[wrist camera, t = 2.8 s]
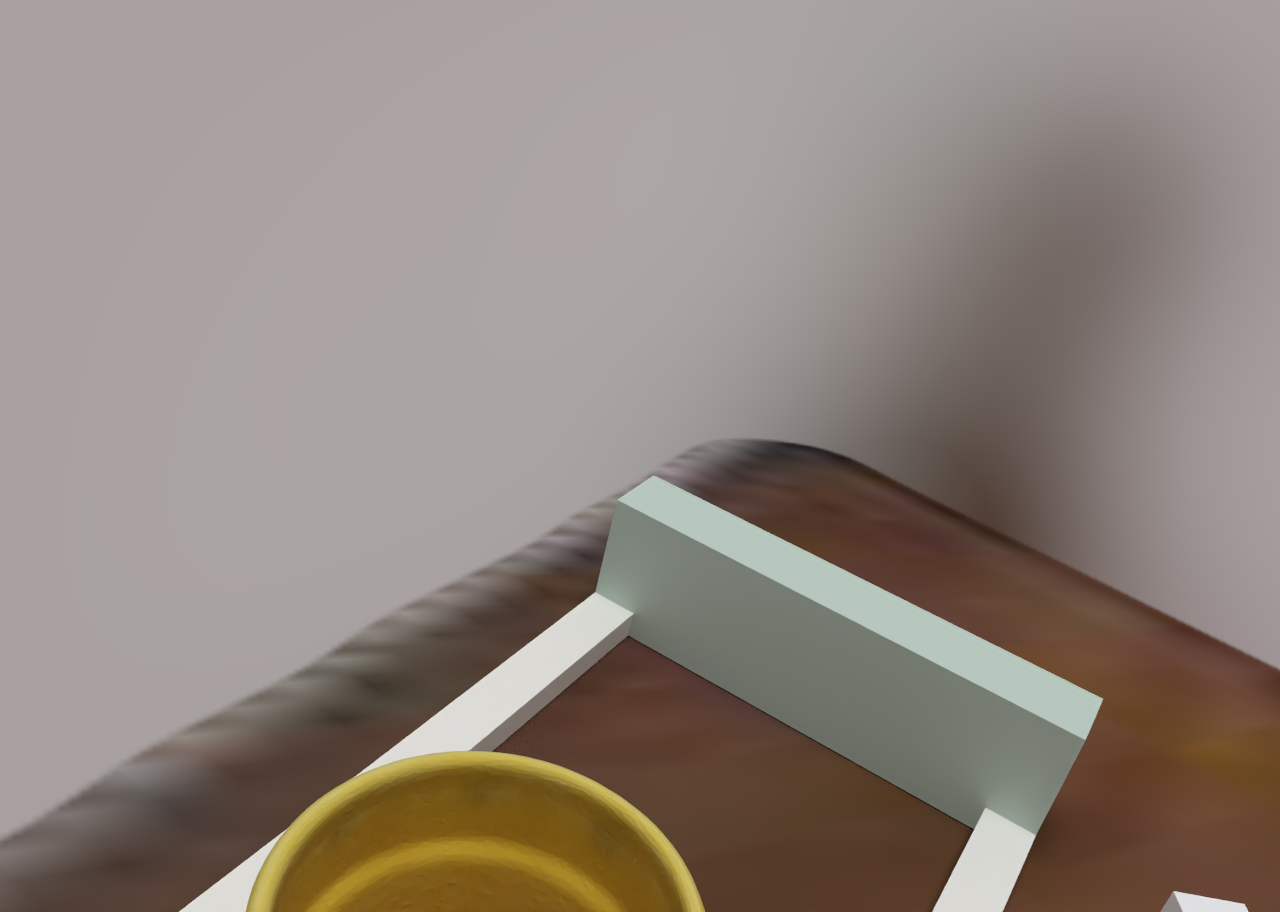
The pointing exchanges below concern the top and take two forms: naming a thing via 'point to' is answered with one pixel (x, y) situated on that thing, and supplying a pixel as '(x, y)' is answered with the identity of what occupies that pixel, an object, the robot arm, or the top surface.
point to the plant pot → (473, 844)
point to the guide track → (794, 680)
